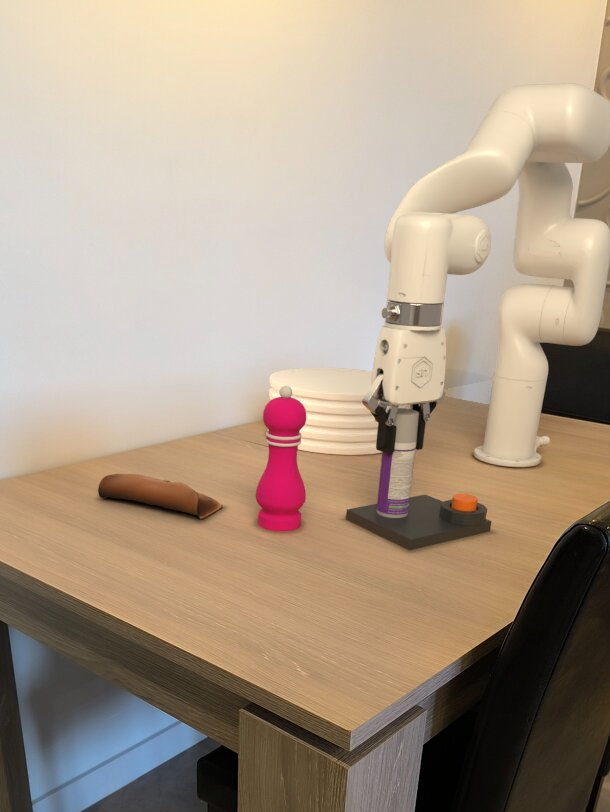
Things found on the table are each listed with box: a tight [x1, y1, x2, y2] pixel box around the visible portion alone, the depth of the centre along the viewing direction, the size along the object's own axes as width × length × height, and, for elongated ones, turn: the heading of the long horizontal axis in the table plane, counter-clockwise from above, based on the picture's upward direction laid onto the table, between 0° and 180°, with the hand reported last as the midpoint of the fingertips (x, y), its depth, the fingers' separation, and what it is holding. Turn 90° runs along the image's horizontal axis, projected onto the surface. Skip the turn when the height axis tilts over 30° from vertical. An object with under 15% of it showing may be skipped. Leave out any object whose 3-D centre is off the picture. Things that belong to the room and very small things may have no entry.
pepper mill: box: [255, 386, 307, 532], centre depth 116 cm, size 7×7×20 cm
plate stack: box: [267, 367, 409, 456], centre depth 167 cm, size 28×28×12 cm
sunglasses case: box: [97, 473, 223, 520], centre depth 126 cm, size 18×7×7 cm, turn 64°
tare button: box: [451, 493, 479, 511], centre depth 121 cm, size 4×4×2 cm
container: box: [376, 408, 419, 518], centre depth 119 cm, size 5×5×15 cm
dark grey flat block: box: [345, 494, 492, 551], centre depth 122 cm, size 16×14×4 cm
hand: (399, 448), depth 118 cm, fingers closed on container, 4 cm apart
